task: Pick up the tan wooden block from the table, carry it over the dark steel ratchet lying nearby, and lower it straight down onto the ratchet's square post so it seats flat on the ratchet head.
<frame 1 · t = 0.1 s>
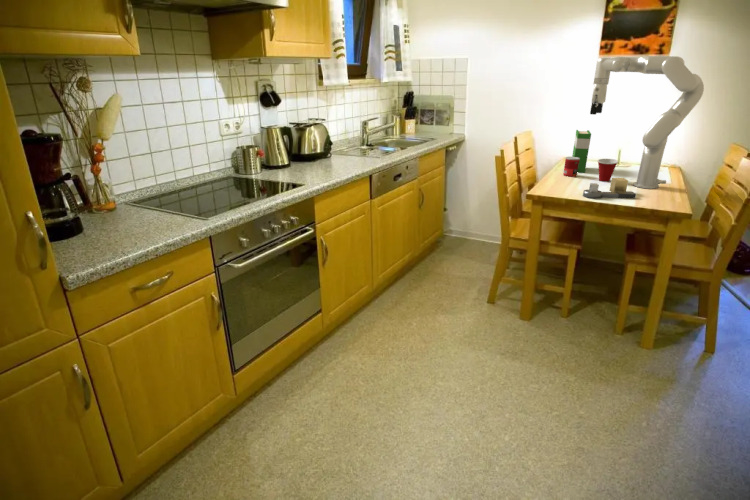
hand: (595, 113, 257), 37 cm above the table, tool pointing down, fingers open, 9 cm apart
plastic cup: (604, 181, 265), on the table
canned food: (569, 175, 277), on the table
tan wooden block: (617, 192, 241), on the table
hardback book: (577, 170, 293), on the table
ratchet: (592, 196, 233), on the table
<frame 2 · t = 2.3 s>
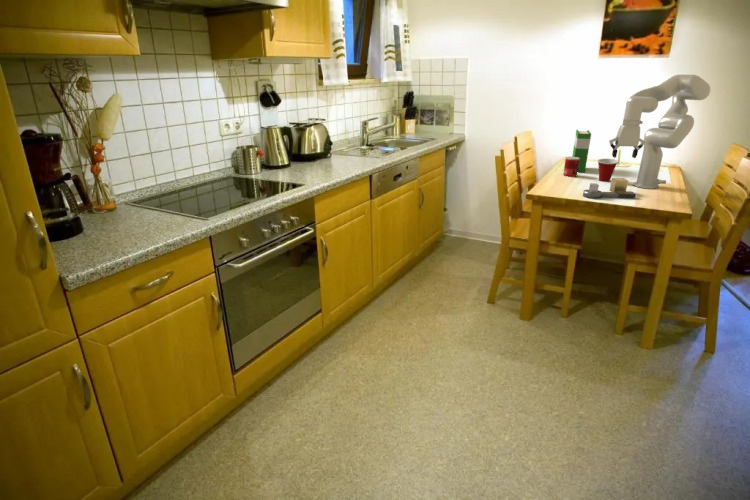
hand: (623, 157, 234), 19 cm above the table, tool pointing down, fingers open, 9 cm apart
nothing on the table moved.
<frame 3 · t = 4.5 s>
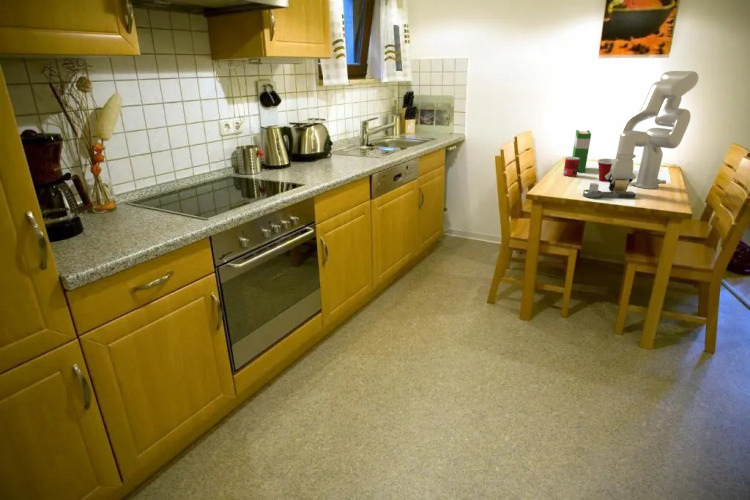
hand: (617, 190, 241), 1 cm above the table, tool pointing down, fingers closed on tan wooden block, 6 cm apart
tan wooden block: (617, 192, 241), on the table, touching gripper
everything else where it was.
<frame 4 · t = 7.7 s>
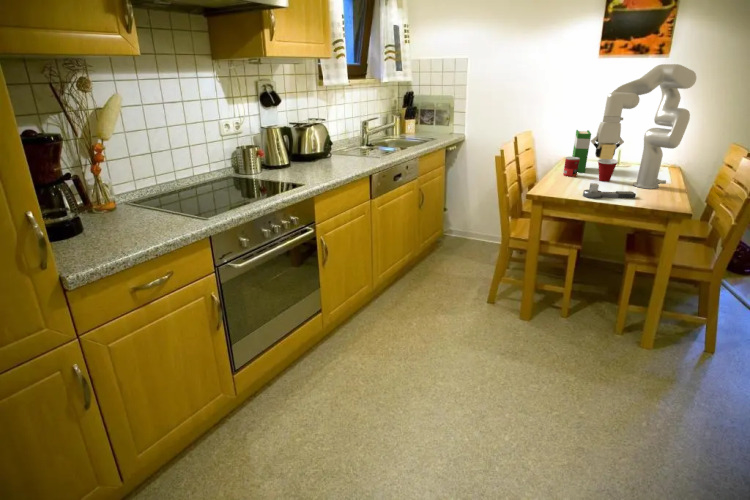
hand: (604, 156, 227), 20 cm above the table, tool pointing down, fingers closed on tan wooden block, 6 cm apart
tan wooden block: (604, 157, 227), point 20 cm above the table, touching gripper
everything else where it was.
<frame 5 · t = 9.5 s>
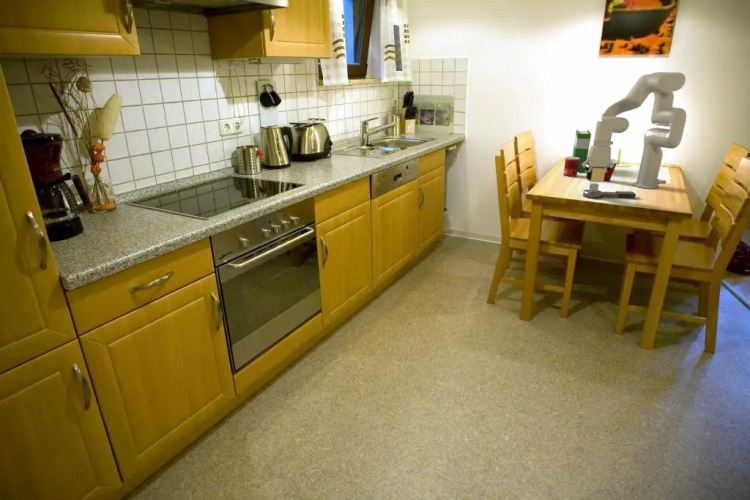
hand: (595, 179, 230), 9 cm above the table, tool pointing down, fingers closed on tan wooden block, 6 cm apart
tan wooden block: (594, 180, 230), point 8 cm above the table, touching gripper
everything else where it was.
when the fingers open (4 cm above the table, at t = 11.0 s): tan wooden block stays where it is, resting on ratchet.
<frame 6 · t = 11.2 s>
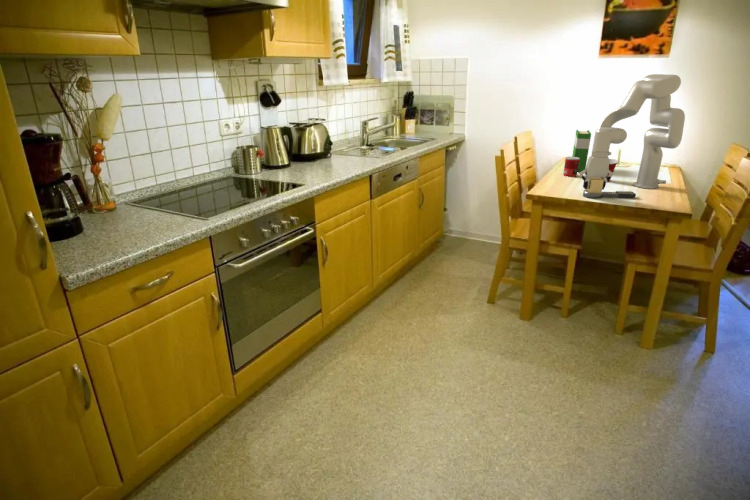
hand: (593, 188, 232), 4 cm above the table, tool pointing down, fingers open, 7 cm apart
tan wooden block: (593, 191, 232), point 2 cm above the table, touching ratchet
everything else where it was.
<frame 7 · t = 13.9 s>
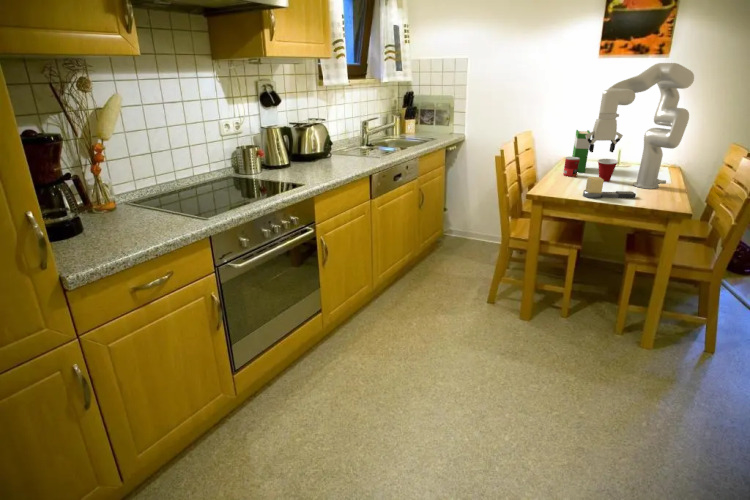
hand: (601, 151, 227), 23 cm above the table, tool pointing down, fingers open, 9 cm apart
nothing on the table moved.
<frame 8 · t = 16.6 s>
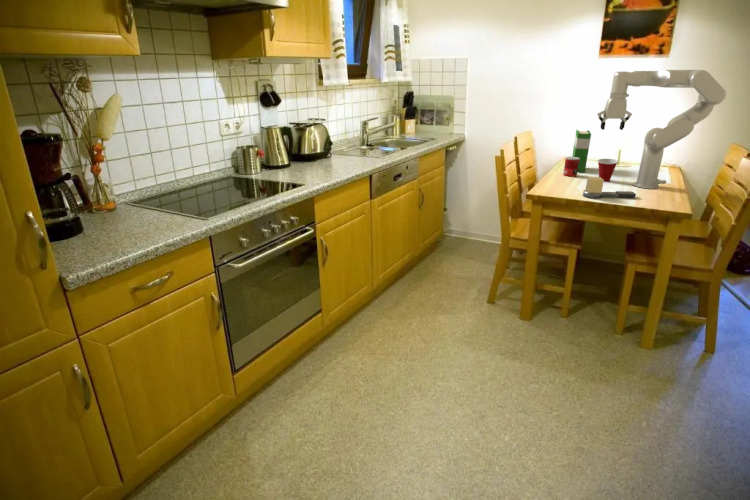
hand: (611, 129, 246), 30 cm above the table, tool pointing down, fingers open, 9 cm apart
nothing on the table moved.
at the end: tan wooden block 0.1 cm off-centre on the ratchet, point 2.5 cm above the ratchet's base; tan wooden block tilted 0°; the gripper is holding nothing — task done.
